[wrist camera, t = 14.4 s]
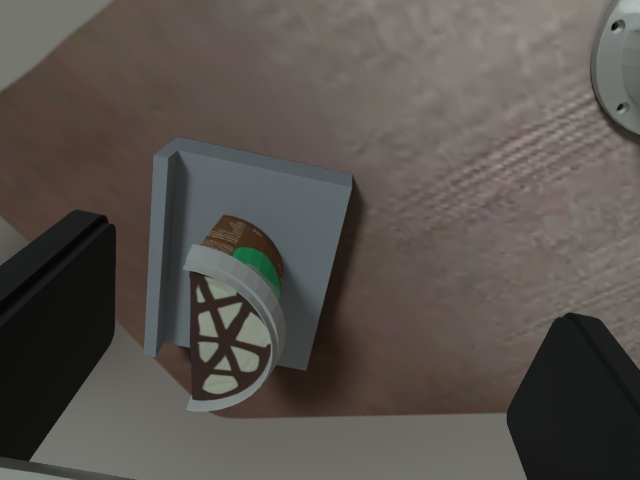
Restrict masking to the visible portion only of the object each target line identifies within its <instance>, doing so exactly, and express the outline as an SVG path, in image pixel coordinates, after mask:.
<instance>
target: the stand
mask: <svg viewBox="0 0 640 480" xmlns="http://www.w3.org/2000/svg"><path fill="white" fill-rule="evenodd" d="M351 190H352V174H348V173H343V172H339V171H334V170H329V169H325V168H320V167H316V166H311V165H306V164H302V163H297V162H292V161H288V160H283V159H278V158H274V157H269V156H265V155H260V154H255V153H251V152H246V151H241V150H237V149H232V148H228V147H223V146H218V145H214V144H209V143H204V142H200V141H195V140H190V139H186V138H181V137H176V138H175V139H174V140H172V141H171V142H170V143H169V144H167V145H166V146H165V147H163V148H162V149H161V150H160V151H158V152H157V153H156V154H155V155H154V162H153V182H152V203H151V223H150V243H149V263H148V283H147V304H146V324H145V344H144V355H147V356H151V357H156V356H157V354H158V352H159V350H160V348H161V346H162V345H163V343H168V344H174V345H179V346H184V347H189V348H190V278H189V271H188V270H183V267H184V265H185V263H186V258H187V256H188V254H189V251H190V249H191V247H192V245H193V244H195V245H200V244H201V243H202V241H203V240H204V239H205V238H206V236H207V235H208V234H209V232H210V231H211V230H212V229H213V227H214V226H215V225H216V223H217V222H218V221H219V220H220V218H221V217H222V216H223V214H224V215H229V216H234V217H237V218H240V219H243V220H246V221H248V222H250V223H252V224H253V225H255V226H256V227H258V228H259V229H261V230H262V231H263V232H264V233H265V234H266V235H268V237H269V238H270V239H271V240H272V241H273V243H274V244H275V246H276V247H277V249H278V251H279V253H280V256H281V259H282V264H283V280H282V288H281V297H280V306H281V309H282V311H283V315H284V320H285V325H286V338H285V343H284V348H283V351H282V353H281V356H280V358H279V360H278V362H277V364H276V365H279V366H284V367H289V368H294V369H299V370H304V371H306V370H307V366H308V362H309V358H310V354H311V350H312V346H313V342H314V338H315V334H316V330H317V326H318V322H319V318H320V314H321V310H322V306H323V302H324V298H325V294H326V290H327V286H328V282H329V278H330V274H331V270H332V266H333V262H334V258H335V254H336V250H337V246H338V242H339V238H340V234H341V230H342V226H343V222H344V218H345V214H346V210H347V206H348V202H349V198H350V194H351Z"/></svg>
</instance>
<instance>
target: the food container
mask: <svg viewBox="0 0 640 480" xmlns="http://www.w3.org/2000/svg"><path fill="white" fill-rule="evenodd" d="M183 270H188V271H189V278H190V353H191V372H192V395H191V398H190V401H189V404H188V406H187V409H186V411H197V412H199V411H213V410H218V409H223V408H226V407H229V406H233V405H235V404H237V403H239V402H241V401H243V400H245V399H246V398H248V397H249V396H250V395H252V394H253V393H254V392H255V391H256V390H257V389H258V388H259V387H260V386H261V385H262V384H263V383H264V382H265V381H266V380H267V378H268V377H269V375H270V374H271V372H272V371H273V369H274V367H275V365H276V364H277V362H278V360H279V358H280V356H281V353H282V351H283V348H284V343H285V338H286V325H285V320H284V315H283V311H282V309H281V306H280V297H281V288H282V280H283V264H282V259H281V256H280V253H279V251H278V249H277V247H276V246H275V244H274V243H273V241H272V240H271V239H270V238H269V237H268V235H266V234H265V233H264V232H263V231H262V230H261V229H259V228H258V227H256V226H255V225H253V224H252V223H250V222H248V221H246V220H243V219H240V218H237V217H234V216H229V215H224V214H223V216H222V217H221V218H220V220H219V221H218V222H217V223H216V225H215V226H214V227H213V229H212V230H211V231H210V232H209V234H208V235H207V236H206V238H205V239H204V240H203V241H202V243H201V244H200V245H195V244H193V245H192V247H191V249H190V251H189V254H188V256H187V258H186V263H185V265H184V267H183Z"/></svg>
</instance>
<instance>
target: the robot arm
mask: <svg viewBox="0 0 640 480" xmlns="http://www.w3.org/2000/svg"><path fill="white" fill-rule="evenodd" d="M613 23H615V28H614V29H613V30H611V27H612V24H613ZM591 75H592V84H593V87H594V90H595V93H596V97H597V99H598V101H599V103H600V104H601V106H602V108H603V109H604V111H605V112H606V113H607V114H608V115H609V116H610V117H611V118H612V119H613V120H614V121H615V122H616V123H617V124H619V125H621V126H622V127H624V128H626V129H627V130H629V131H631V132H634V133H636V134H639V135H640V0H613V2H612V3H611V5H610V6H609V8H608V9H607V11H606V13H605V15H604V18H603V20H602V22H601V24H600V26H599V28H598V31H597V35H596V38H595V42H594V45H593V50H592V59H591ZM619 104H620V107H619V109H617V107H618V106H619ZM115 269H116V228H115V226H114V225H113V224H109V223H108V219H107V217H106V216H105V215H100V214H96V213H91V212H86V211H81V210H74V211H72V212H71V213H69V214H68V215H67V216H65V217H64V218H63V219H61V220H60V221H59V222H58V223H56V224H55V225H54V226H52V227H51V228H50V229H48V230H47V231H46V232H44V233H43V234H42V235H40V236H39V237H38V238H36V239H35V240H34V241H32V242H31V243H30V244H28V245H27V246H26V247H25V248H23V249H22V250H21V251H19V252H18V253H17V254H15V255H14V256H13V257H11V258H10V259H9V260H7V261H6V262H5V263H3V264H2V265H1V266H0V480H135V479H129V478H124V477H118V476H112V475H107V474H102V473H96V472H90V471H84V470H78V469H72V468H66V467H60V466H53V465H48V464H42V463H36V462H29V460H30V459H31V457H32V456H33V454H34V453H35V452H36V450H37V449H38V447H39V446H40V444H41V443H42V442H43V440H44V439H45V437H46V436H47V434H48V433H49V431H50V430H51V429H52V427H53V426H54V424H55V423H56V422H57V420H58V419H59V417H60V416H61V414H62V413H63V411H64V410H65V409H66V407H67V406H68V404H69V403H70V401H71V400H72V399H73V397H74V396H75V394H76V393H77V392H78V390H79V389H80V387H81V386H82V384H83V383H84V381H85V380H86V379H87V377H88V376H89V374H90V373H91V372H92V370H93V369H94V367H95V366H96V364H97V363H98V361H99V360H100V359H101V357H102V356H103V354H104V353H105V352H106V350H107V349H108V347H109V345H110V343H111V341H112V339H113V336H114V329H115ZM507 425H508V428H509V431H510V433H511V436H512V439H513V442H514V444H515V447H516V450H517V452H518V455H519V458H520V461H521V464H522V466H523V469H524V472H525V474H526V477H527V480H640V370H639V369H638V368H637V366H636V365H635V364H634V362H633V361H632V360H631V359H630V357H629V356H628V355H627V353H626V352H625V351H624V350H623V348H622V347H621V346H620V344H619V343H618V342H617V341H616V339H615V338H614V337H613V335H612V334H611V333H610V332H609V330H608V329H607V328H606V326H605V325H604V324H603V323H602V321H601V320H599V319H598V318H595V317H590V316H585V315H580V314H575V313H571V312H570V313H567V314H565V315H564V316H563V317H559V318H557V319H555V320H554V322H553V323H552V325H551V327H550V329H549V331H548V333H547V335H546V337H545V339H544V341H543V343H542V344H541V346H540V348H539V350H538V352H537V354H536V356H535V358H534V360H533V362H532V364H531V366H530V367H529V369H528V371H527V373H526V375H525V377H524V379H523V381H522V383H521V385H520V387H519V388H518V390H517V392H516V394H515V396H514V398H513V400H512V402H511V404H510V406H509V408H508V411H507Z"/></svg>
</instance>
